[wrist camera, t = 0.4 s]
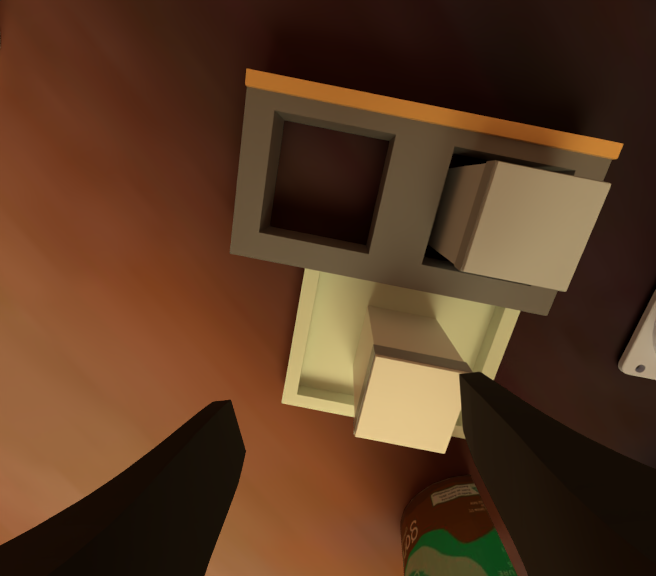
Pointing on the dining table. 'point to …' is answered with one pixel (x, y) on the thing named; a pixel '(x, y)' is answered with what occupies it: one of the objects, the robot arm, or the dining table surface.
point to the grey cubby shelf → (392, 183)
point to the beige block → (516, 222)
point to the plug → (406, 381)
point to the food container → (451, 533)
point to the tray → (346, 325)
